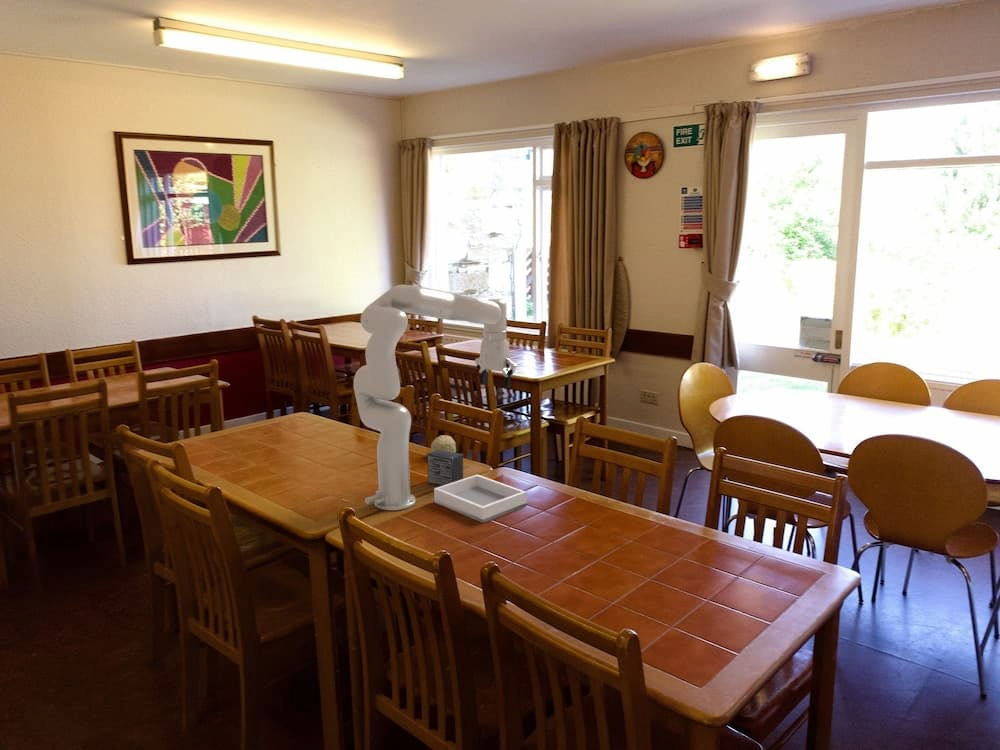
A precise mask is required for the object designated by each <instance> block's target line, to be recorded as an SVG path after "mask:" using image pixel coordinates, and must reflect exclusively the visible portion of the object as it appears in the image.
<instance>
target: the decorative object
mask: <svg viewBox="0 0 1000 750" xmlns="http://www.w3.org/2000/svg"><path fill="white" fill-rule="evenodd" d="M436 450H443V451H448V452H454V453H456V452H457V446H456V442H455V440H454V438H452V436H450V435H447V434H446V435H442V434H441V435H439V436H437V437H436V438H435V439H434V440H432V442H431V443H430V453H431V452H433V451H436Z"/></svg>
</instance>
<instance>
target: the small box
mask: <svg viewBox="0 0 1000 750" xmlns="http://www.w3.org/2000/svg"><path fill="white" fill-rule="evenodd" d="M426 456H427V484H428V483H429V484H428V485H431V484H434V485H433V486H436V487H440V486H443V485H446V484H449V483H453V482H456V481H459V480H462V479H464V454H463V453H459V452H458V453H457V452H455V453H454V452H448V451H443V450H436V451H433V452H431V451H430V452H429V453H427V455H426Z"/></svg>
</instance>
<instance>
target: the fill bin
mask: <svg viewBox="0 0 1000 750" xmlns="http://www.w3.org/2000/svg"><path fill="white" fill-rule="evenodd" d="M433 500H434V503H435V504H437V505H439V506H442V507H444V508H447V509H449V510H451V511H454V512H456V513H458V514H462V515H463V516H465V517H467V518H470V519H472V520H475V521H477V522H480V523H481V524H483V523H487V522H489V521H492V520H494V519H497V518H499V517H502V516H505V515H506V514H510V513H512V512H515V511H518V510H520V509H522V508H524V507H527V491H525V490H522V489H520V488H517V487H514V486H511V485H507V484H505V483H502V482H499V481H497V480H494V479H492V478H489V477H486V476H483V475H480V474H475V475H472V476H467V477H466V478H463V479H462V480H459V481H456V482H453V483H449V484H446V485H443V486H436V487H435V488H433Z"/></svg>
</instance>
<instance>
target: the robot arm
mask: <svg viewBox="0 0 1000 750" xmlns="http://www.w3.org/2000/svg"><path fill="white" fill-rule="evenodd" d="M407 314H411V315H417V316H423V317H424V316H425V317H430V318H434V319H435V318H436V319H440V320H447V321H460V322H461V321H462V322H468V323H470V324H471V323H472V324H479V325H483V331H482V332H481V334H482V336H483V339H482V340H481V343H480V352H479V357H477V358H475V359H474V363H475V365H476V368H477V370H478V373H479V374H480V384H481V386H485V385H487V384H489V372H488V371H492V372H493V371H495V372H502V374H503V378H502V388H503V389H504V390H506V389H509V388H511V385H512V384H511V381H512V380H511V377H512V376H513V374H514V373H516V372H515V371H516V369H517V367H518V365H517V364H516V363H515V362H514V361H513V360H511V354H510V346H509V341H508V340H507V302H506V300H504V299H503V298H502V299H501V298H490V299H489V298H488V299H482V298H476V297H471V296H465V295H463V294H459V293H454V292H449V291H444V290H439V289H434V288H429V287H425V286H419V285H413V284H412V285H410V284H397V285H395V286H393V287H391V288H389V289H388V290H387V291H386V292H384V293H382V294H381V295H380V296H379V297H378V298H376V299H375V300H374V301H373V302H371V303H370V304H368V305H367V306H366V307H365V308H364V309H363V311H362V313H361V315H360V325H361V327H362V328H363V330H364V331H366V332H367V333H368V334H371V336H370V337H369V339H368V341H367V343H366V347H365V362H366V364H365V365H362V366H361V367H359V369H358V370H357V371H356V373H355V375H354V378H353V390H354V396H355V401H356V404H357V405H356V406H357V410H358V415H359V418H360V420H361V422H362V423H363V424H364V426H366V427H367V428H369V429H373V430H376V431H378V432H380V436H379V438H378V441H377V445H376V456H377V457H376V458H377V477H378V479H377V481H378V482H377V483H378V489H377V490H375V494H374V495H373V496H368V497H366V498H365V499H364V502H365V504H366V505H370V504H374V507H376V508H377V509H380V510H384V511H400V510H401V511H402V510H406V509H408V508H411V507H413V506H414V505H415V504H416V501H417V500H416V497H415V495H413V494H412V493H411V479H410V477H411V475H410V473H411V471H410V470H411V469H410V449H409V447H410V443H409V440H410V431H411V425H412V416H411V413H410V410H408V408H407V407H405V406H404V405H402V404H401V403H397V402H394V401H392V400H395V399H396V398H398V397H399V395H400V392H401V381H400V376H399V371H398V365H397V361H396V347H397V344H398V342H399V340H400V339H401V337H403V336H404V335H403V334H405V332H406V330H407V328H408V324H409V320H408V316H407Z"/></svg>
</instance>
